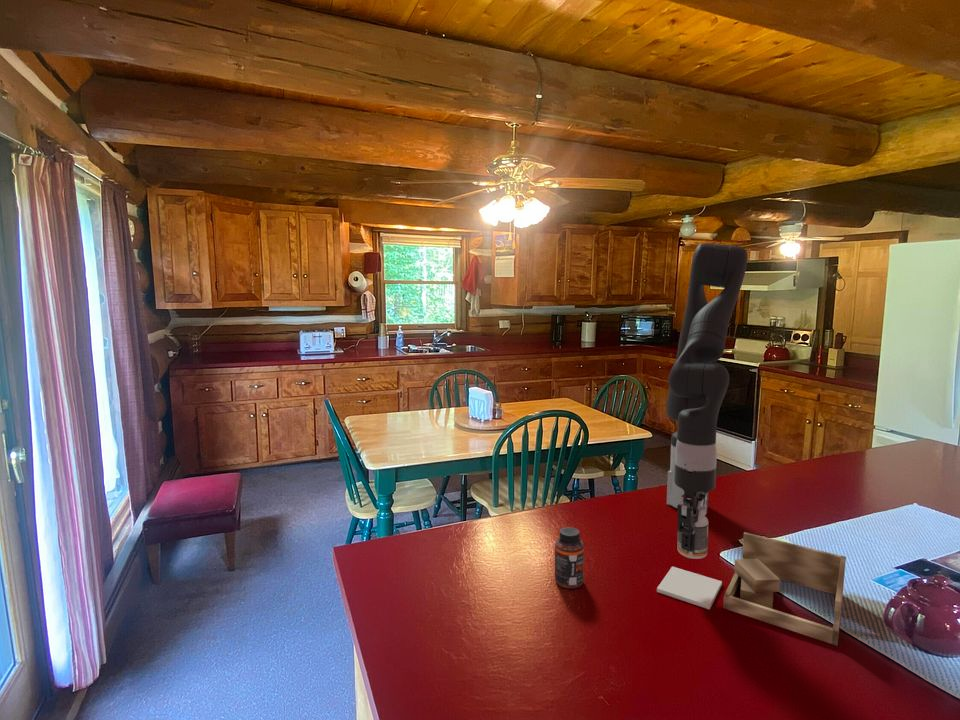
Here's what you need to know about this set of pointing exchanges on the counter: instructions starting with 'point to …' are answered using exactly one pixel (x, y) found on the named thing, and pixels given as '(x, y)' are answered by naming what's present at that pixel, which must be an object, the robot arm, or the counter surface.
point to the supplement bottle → (569, 559)
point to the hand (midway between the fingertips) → (692, 543)
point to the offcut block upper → (757, 575)
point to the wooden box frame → (796, 568)
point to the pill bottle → (697, 538)
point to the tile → (690, 587)
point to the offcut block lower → (756, 596)
